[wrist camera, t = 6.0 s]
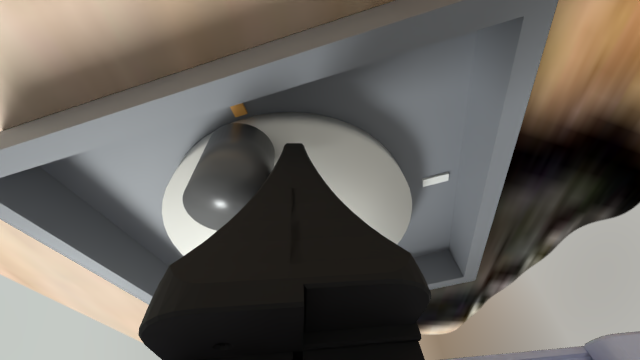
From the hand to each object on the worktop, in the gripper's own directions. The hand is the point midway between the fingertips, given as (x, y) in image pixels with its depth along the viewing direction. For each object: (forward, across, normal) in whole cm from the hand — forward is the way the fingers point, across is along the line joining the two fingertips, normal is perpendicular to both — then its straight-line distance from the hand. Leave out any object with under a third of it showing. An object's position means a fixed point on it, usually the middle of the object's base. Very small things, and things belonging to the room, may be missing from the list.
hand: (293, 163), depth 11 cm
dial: (+3, 0, +6) cm, 7 cm away
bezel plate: (+4, 0, +6) cm, 7 cm away
